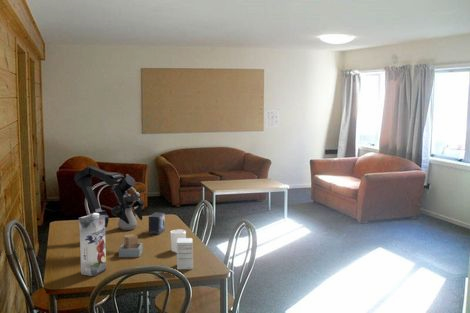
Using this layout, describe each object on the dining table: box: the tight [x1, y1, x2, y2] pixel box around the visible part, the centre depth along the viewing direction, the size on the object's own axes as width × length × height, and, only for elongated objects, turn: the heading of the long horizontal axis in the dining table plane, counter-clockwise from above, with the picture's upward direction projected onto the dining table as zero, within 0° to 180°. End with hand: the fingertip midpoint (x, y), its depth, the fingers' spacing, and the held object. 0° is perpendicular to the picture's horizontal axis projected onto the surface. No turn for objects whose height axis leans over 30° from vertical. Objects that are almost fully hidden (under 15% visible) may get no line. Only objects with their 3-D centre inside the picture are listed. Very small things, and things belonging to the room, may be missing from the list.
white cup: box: [169, 228, 187, 253], centre depth 254 cm, size 8×8×10 cm
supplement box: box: [176, 237, 194, 270], centre depth 230 cm, size 7×7×13 cm
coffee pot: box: [99, 204, 138, 231], centre depth 293 cm, size 21×12×15 cm, turn 105°
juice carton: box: [78, 213, 107, 277], centre depth 221 cm, size 9×10×27 cm
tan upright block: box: [123, 233, 139, 249], centre depth 249 cm, size 5×5×9 cm
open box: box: [118, 242, 144, 258], centre depth 249 cm, size 10×10×4 cm
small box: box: [148, 211, 166, 236], centre depth 287 cm, size 11×6×10 cm, turn 168°
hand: (135, 221), depth 256 cm, fingers open, 9 cm apart
